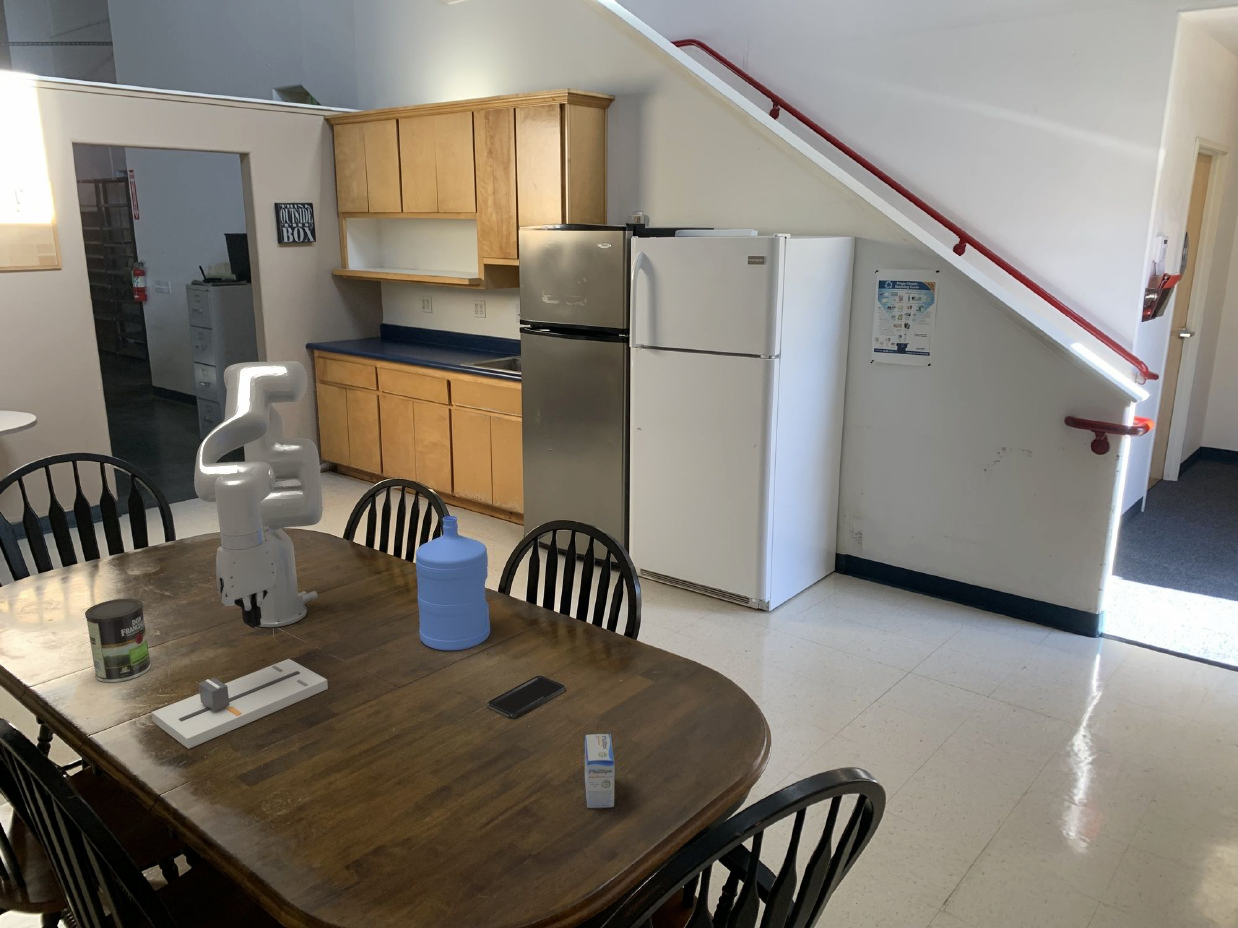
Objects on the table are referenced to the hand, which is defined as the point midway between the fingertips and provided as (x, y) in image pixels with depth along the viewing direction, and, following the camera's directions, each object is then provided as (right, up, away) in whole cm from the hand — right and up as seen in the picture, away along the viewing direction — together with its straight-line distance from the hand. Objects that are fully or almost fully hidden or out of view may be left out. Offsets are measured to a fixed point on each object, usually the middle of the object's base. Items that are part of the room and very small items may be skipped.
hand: (253, 624), depth 177 cm
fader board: (-1, -15, -2) cm, 15 cm away
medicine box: (+68, -23, -29) cm, 78 cm away
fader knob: (-4, -14, -7) cm, 16 cm away
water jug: (+35, -8, +27) cm, 45 cm away
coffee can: (-31, -12, +11) cm, 35 cm away
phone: (+54, -15, 0) cm, 56 cm away
